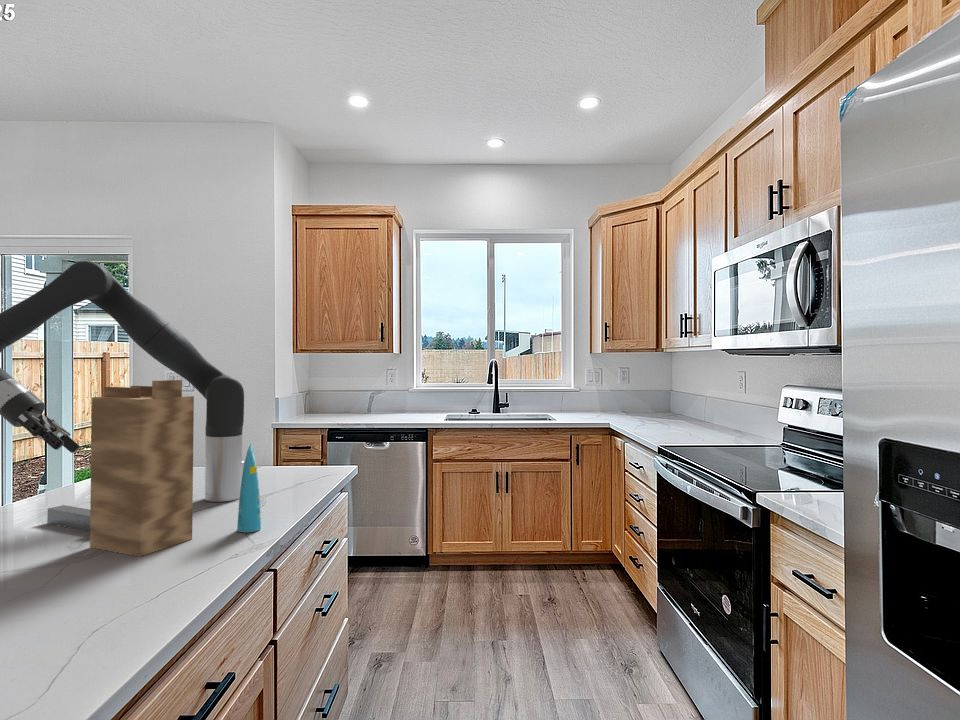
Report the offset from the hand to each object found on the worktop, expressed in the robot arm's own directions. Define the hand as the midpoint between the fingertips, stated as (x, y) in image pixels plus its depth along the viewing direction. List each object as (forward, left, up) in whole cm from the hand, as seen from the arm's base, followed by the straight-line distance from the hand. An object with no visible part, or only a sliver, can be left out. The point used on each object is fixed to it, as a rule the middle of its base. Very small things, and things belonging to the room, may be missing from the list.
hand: (68, 448), depth 135 cm
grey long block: (+2, +9, -17) cm, 19 cm away
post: (+5, +31, -17) cm, 35 cm away
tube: (-11, +44, -17) cm, 48 cm away
